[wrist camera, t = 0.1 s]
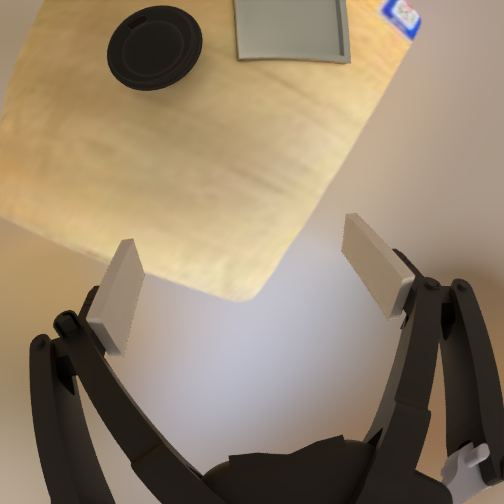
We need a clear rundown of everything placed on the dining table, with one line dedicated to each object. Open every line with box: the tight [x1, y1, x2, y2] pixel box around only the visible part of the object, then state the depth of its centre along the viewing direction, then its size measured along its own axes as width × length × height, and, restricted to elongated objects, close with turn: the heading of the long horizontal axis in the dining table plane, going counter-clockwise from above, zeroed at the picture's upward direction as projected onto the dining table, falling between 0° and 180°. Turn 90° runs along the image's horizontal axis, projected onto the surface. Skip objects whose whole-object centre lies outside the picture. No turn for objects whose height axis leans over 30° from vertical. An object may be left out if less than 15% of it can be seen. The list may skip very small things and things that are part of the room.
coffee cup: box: [107, 6, 202, 91], centre depth 23 cm, size 9×9×15 cm
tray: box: [233, 0, 351, 64], centre depth 26 cm, size 16×16×2 cm
